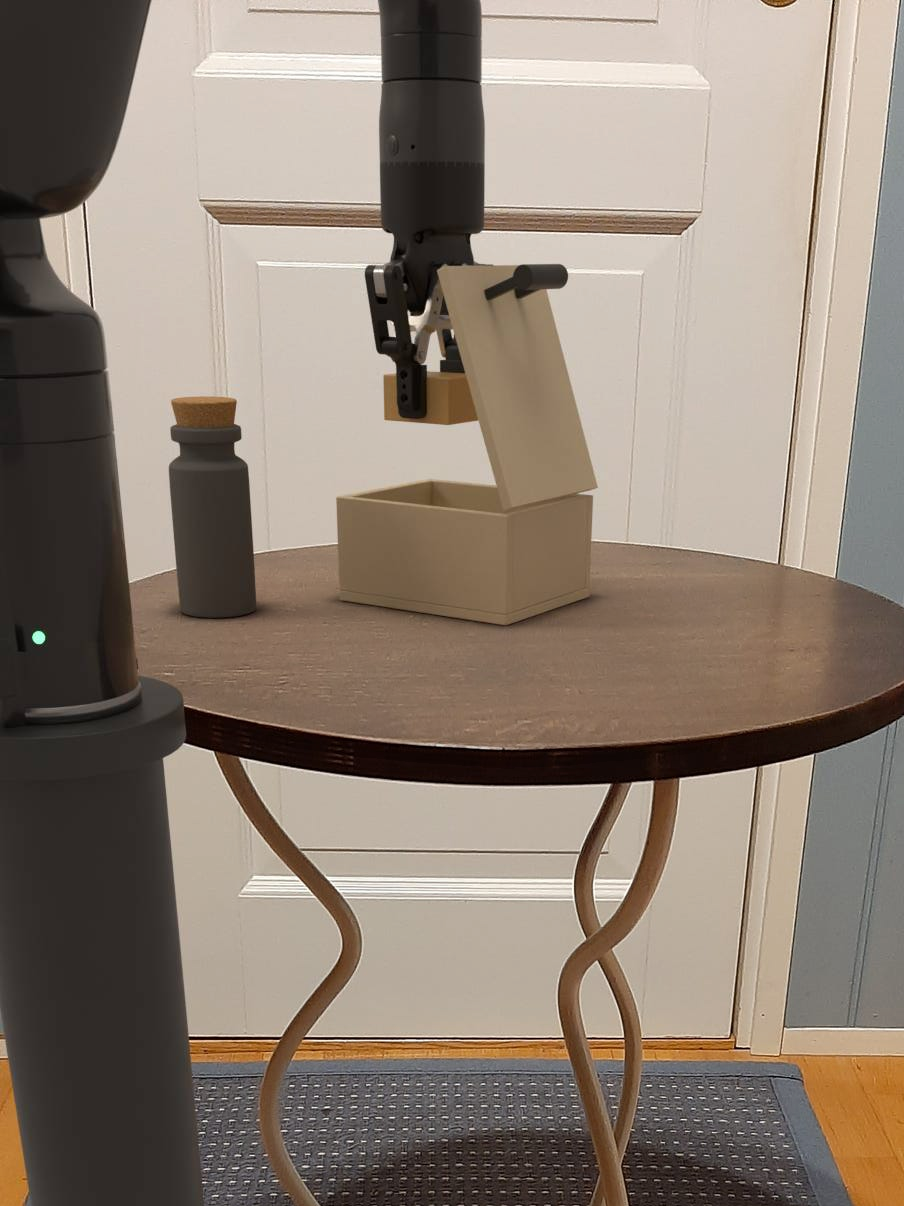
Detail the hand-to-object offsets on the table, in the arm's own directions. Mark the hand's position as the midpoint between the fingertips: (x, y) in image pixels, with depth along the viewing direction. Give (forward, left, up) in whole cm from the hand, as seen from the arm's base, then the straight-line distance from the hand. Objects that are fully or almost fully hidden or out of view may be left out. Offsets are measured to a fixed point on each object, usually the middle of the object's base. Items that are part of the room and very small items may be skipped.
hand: (434, 413), depth 116 cm
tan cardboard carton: (0, 0, 0) cm, 0 cm away
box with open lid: (+1, -3, -13) cm, 14 cm away
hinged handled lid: (+2, -7, +2) cm, 8 cm away
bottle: (-17, +6, -14) cm, 22 cm away
